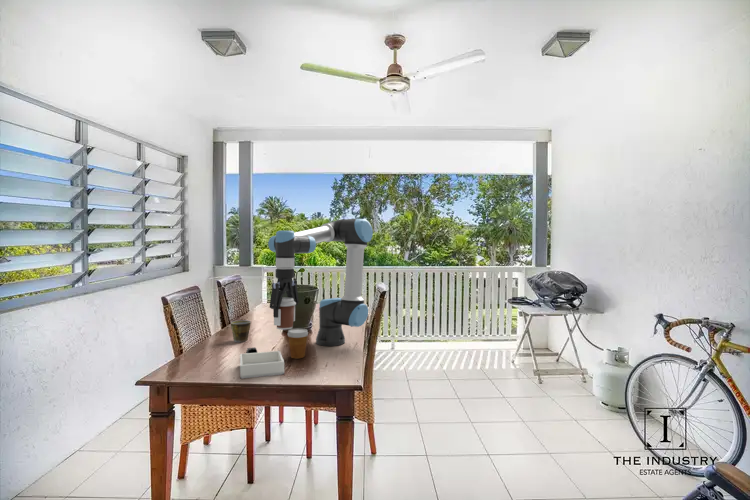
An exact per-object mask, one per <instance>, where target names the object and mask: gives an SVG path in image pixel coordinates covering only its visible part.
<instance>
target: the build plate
mask: <svg viewBox="0 0 750 500" xmlns="http://www.w3.org/2000/svg"><path fill="white" fill-rule="evenodd" d="M246 353H258V350H257V348H256V347H248V348H247V349H246V352H245V354H246Z"/></svg>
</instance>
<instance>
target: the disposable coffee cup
mask: <svg viewBox="0 0 750 500" xmlns="http://www.w3.org/2000/svg"><path fill="white" fill-rule="evenodd" d="M308 331H309V330H308V329H307V328H306V329H305V328H292V329H288V330H287V337H288V343H289V344H288V345H289V353H290V358H291V359H294V360H295V359H296V360H297V359H303V358H305V356H306V348H307V340H308V335H309V332H308Z"/></svg>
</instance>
